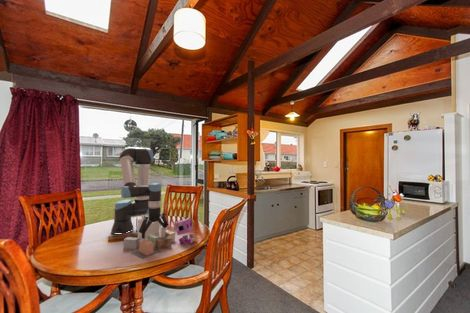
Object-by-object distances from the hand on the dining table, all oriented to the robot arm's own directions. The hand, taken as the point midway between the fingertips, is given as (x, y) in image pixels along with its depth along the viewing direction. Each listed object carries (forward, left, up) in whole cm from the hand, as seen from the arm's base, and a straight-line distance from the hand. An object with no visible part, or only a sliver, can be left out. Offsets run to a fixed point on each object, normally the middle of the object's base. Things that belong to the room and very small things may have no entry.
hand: (154, 240), depth 141 cm
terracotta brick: (+7, -10, -3) cm, 12 cm away
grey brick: (-7, -11, -3) cm, 14 cm away
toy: (+11, +17, -4) cm, 20 cm away
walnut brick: (+9, +1, -3) cm, 9 cm away
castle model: (-13, +6, -4) cm, 15 cm away
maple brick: (+1, +11, -3) cm, 12 cm away
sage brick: (0, 0, -3) cm, 3 cm away
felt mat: (+7, -10, -3) cm, 12 cm away
